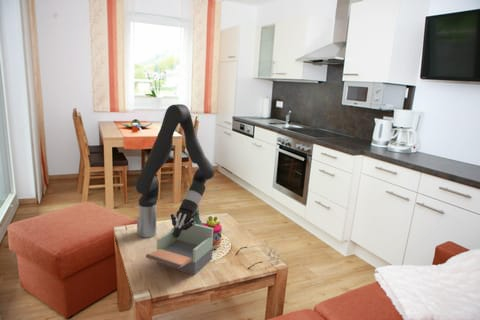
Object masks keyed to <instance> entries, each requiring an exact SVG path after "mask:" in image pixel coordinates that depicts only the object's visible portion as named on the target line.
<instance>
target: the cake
mask: <svg viewBox="0 0 480 320" xmlns="http://www.w3.org/2000/svg"><path fill="white" fill-rule="evenodd" d="M204 223H205V224H203V225H202V226H206V227H210V228H213V246H212V251H214V250H213V249H216V250H218V249H217V248H219V247H220V248H221V242H222V240H223V239H222V233H223V230H222V229H223V228H222V224H221V222H220V221H218V217H217V216H214V217H213V216H211V215H210V216H208V218H207V219H206V222H204ZM220 248H219V249H220Z"/></svg>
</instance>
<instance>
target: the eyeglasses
mask: <svg viewBox="0 0 480 320" xmlns="http://www.w3.org/2000/svg"><path fill="white" fill-rule="evenodd" d="M267 244H269V246H270V249H269V252H268V253H269V254H271V253H272V255H273V257H274V258H273V259H269V260H268V259H267V262H270V261H274V260H277V261H278V260H279V259H281V256H280V255H281V254H280V251H279V250H278V249H276V250H275V248H274V247H273V246H272V245H271V244H270V243H268V242H267V243H266V244H259V245H258V247H262V246H264V248H265V251H266V252H267V251H268V250H267ZM253 247H255V248H257V245H253V246H250V248H253ZM247 248H248V246H243V247H240V248H239V249H238V250H237V252H236V253H235V256H237V255H238V254H239V252H240V251H241V250H242V249H247ZM273 249H274V251H273ZM272 251H273V252H272ZM276 251H277V253H278V257H276ZM265 262H266V260H264V261H259V262H255V263H254V264H252V265H250V266H249V267H247V269H251V268H252V267H253V266H255V265H257V264H261V263H265Z"/></svg>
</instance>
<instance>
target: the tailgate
mask: <svg viewBox="0 0 480 320" xmlns="http://www.w3.org/2000/svg"><path fill="white" fill-rule="evenodd" d="M145 258H146V259H148V260H152V261H155V262H157V261H158V262H161V263H164V264H168V265H171V266H174V267H177V268H181V267H182V266H184V265H186V264H188V263H190V262H191V261H192V258H189V257H186V256H182V255H179V254H176V253H172V252H169V251H165V250H162V249H159V250H157V249H156V250H154V251H152V252H150V253H146V256H145Z"/></svg>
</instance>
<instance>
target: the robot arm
mask: <svg viewBox="0 0 480 320" xmlns="http://www.w3.org/2000/svg"><path fill="white" fill-rule="evenodd" d="M179 125H180V127H181V129H182V131H183V133H184V141H185V142H184V143H185V149H186V151H187V153H188V156H189V158H190V161H191V163H193V164H195V165H197V167H198V168H197V169H196V171H195V172H194V175H193V177H192V181H191V184H190V186H189V189H188V190H187V193H186V194H184V195H185V196H184V198H183V200H182V202H181V204H180V206H179V209H178V210H177V211H176V213H174V214H173V213H171V214H170V221H171V224H172V227H175V229H174V228H173V229H174V231H173V233H172V235H173V237H175V238H177V237H179V235H180V233H181V231H182V230H187V229H189V228H190V227H192V226H193V225H195V224H196V222H195V221H194V219H193V218H194V214H195V212H196V210H197V208H198V209H199V206H200V204H201V201H202V197H203V196H204V193H205V191H206V185H205V184H206V182H207V181H209V180H212V179H213V178H214V176H215V169H214V168H215V167H214V166H213V164H212V163H211V162H210V160H209V158H207V157H206V154H205V152H204V150H203V147H202V145H201V143H200V141H199V139H198V136H197V133H196V129H195V126H194V122H193V119H192V115H191V111H190V109H189V107H188V106H187V105H186V104H184V103H183V104H181V103H180V104H179V103H178V104H171V105H169V106H168V107H167V109H166V111H165V113H164V115H163V119H162V124H161V125H160V128H159V132H158V134H157V136H156V139H155V140H154V142H153V145H152V148H151V150H150V153H149V155H148V157H147V160H146V161H145V164H144V167H143V168H142V169H141V171H140V174H139V175H138V177H137V179H136V180H135V190H136V192H137V193H139V194H140V195H141V196H140V198H139V199H138V217H137V218H136V234H137V235H138V236H139V237H141V238H152V237H155V236H156V235H157V202H158V198H159V191H160V189H159V188H160V187H159V186H160V184H159V179H158V177H157V176H156V174H157V173H158V172H159V171H160V169H162V167H164V165H165V163H166V162H167V161H168V159H169V157H170V155H171V152H172V149H173V145H174V144H173V141H174V140H173V139H174V137H173V136H174V134H175V131H176V129H177V127H178V126H179ZM176 220H177V223H176ZM189 221H190V222H189Z"/></svg>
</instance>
